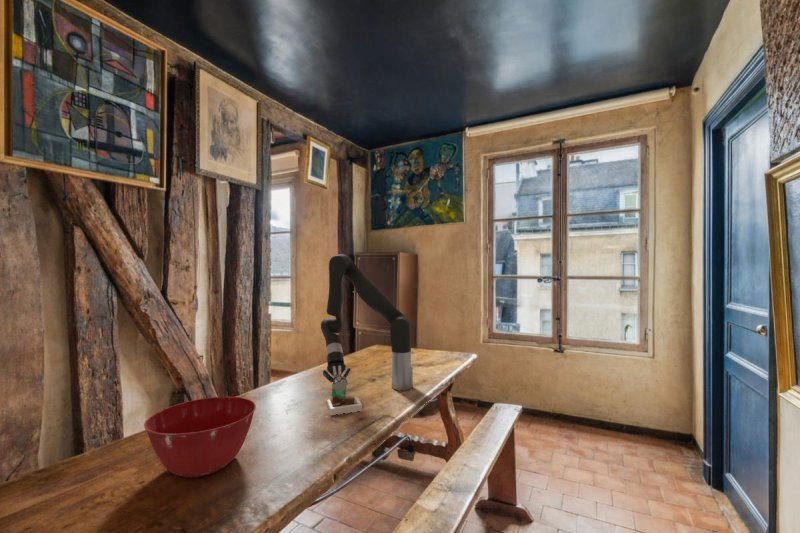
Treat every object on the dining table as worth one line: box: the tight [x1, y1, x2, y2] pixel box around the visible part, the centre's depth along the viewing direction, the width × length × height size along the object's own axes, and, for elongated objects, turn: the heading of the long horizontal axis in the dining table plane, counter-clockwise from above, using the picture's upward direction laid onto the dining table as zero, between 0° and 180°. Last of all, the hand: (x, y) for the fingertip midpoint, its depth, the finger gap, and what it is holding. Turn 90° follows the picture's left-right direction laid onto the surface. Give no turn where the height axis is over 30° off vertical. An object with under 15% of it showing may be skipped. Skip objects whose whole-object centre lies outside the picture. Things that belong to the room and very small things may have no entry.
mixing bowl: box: [143, 396, 257, 479], centre depth 108 cm, size 28×28×16 cm
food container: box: [331, 375, 349, 407], centre depth 155 cm, size 12×6×10 cm, turn 7°
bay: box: [326, 395, 363, 416], centre depth 150 cm, size 12×10×2 cm
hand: (338, 389), depth 161 cm, fingers closed
